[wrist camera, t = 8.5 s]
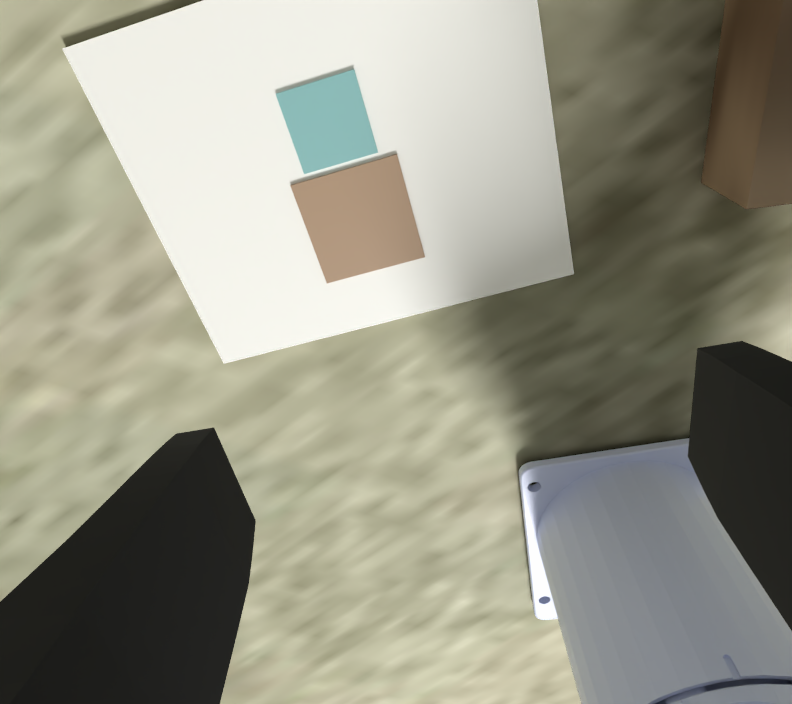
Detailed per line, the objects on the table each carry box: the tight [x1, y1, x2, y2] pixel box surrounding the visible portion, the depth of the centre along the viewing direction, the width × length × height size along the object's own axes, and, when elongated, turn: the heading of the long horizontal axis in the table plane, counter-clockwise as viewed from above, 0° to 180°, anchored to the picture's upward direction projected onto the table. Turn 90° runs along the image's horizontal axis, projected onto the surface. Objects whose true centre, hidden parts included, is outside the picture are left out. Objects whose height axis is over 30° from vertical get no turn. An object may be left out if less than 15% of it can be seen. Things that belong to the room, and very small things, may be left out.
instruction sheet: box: [63, 0, 574, 363], centre depth 17 cm, size 10×12×1 cm
